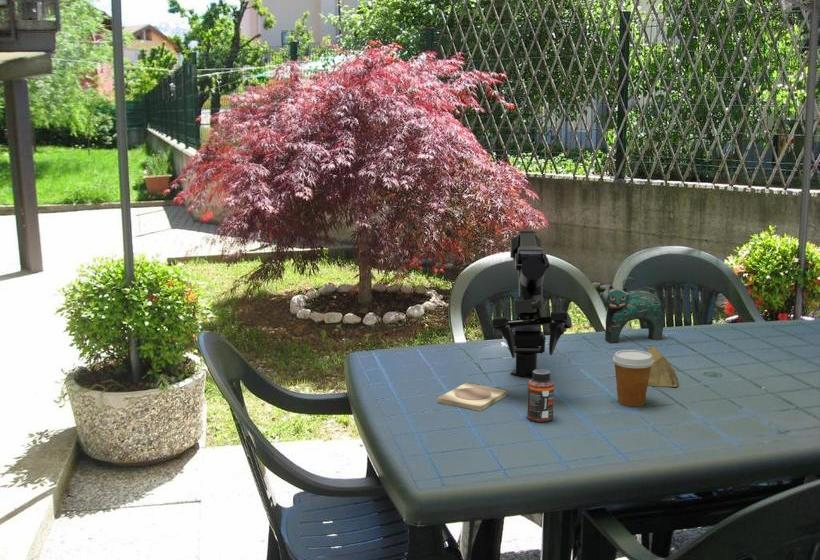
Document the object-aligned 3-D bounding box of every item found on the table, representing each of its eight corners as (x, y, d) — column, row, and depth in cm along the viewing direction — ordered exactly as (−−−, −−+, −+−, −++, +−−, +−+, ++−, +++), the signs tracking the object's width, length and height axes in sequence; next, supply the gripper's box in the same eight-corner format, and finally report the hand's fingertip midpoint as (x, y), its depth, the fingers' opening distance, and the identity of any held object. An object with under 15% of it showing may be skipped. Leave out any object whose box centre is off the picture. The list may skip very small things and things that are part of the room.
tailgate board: (467, 386, 225) (467, 381, 224) (509, 393, 218) (509, 388, 218) (437, 402, 212) (437, 397, 212) (480, 411, 206) (480, 405, 206)
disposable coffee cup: (629, 411, 205) (631, 362, 203) (603, 399, 213) (604, 352, 211) (660, 404, 209) (662, 356, 207) (632, 393, 218) (634, 347, 215)
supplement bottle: (552, 423, 197) (553, 375, 195) (526, 422, 199) (527, 374, 196) (553, 414, 203) (554, 368, 201) (528, 413, 204) (529, 367, 202)
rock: (689, 377, 224) (660, 363, 231) (680, 356, 219) (651, 343, 227) (664, 405, 221) (635, 390, 229) (654, 385, 216) (626, 371, 224)
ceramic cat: (606, 344, 263) (608, 280, 260) (597, 339, 270) (599, 276, 266) (666, 340, 267) (669, 277, 264) (656, 335, 274) (659, 273, 270)
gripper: (485, 288, 211) (484, 349, 205) (561, 279, 205) (563, 342, 199) (498, 304, 221) (498, 362, 215) (571, 296, 214) (573, 357, 208)
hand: (531, 356), depth 209 cm, fingers open, 9 cm apart
